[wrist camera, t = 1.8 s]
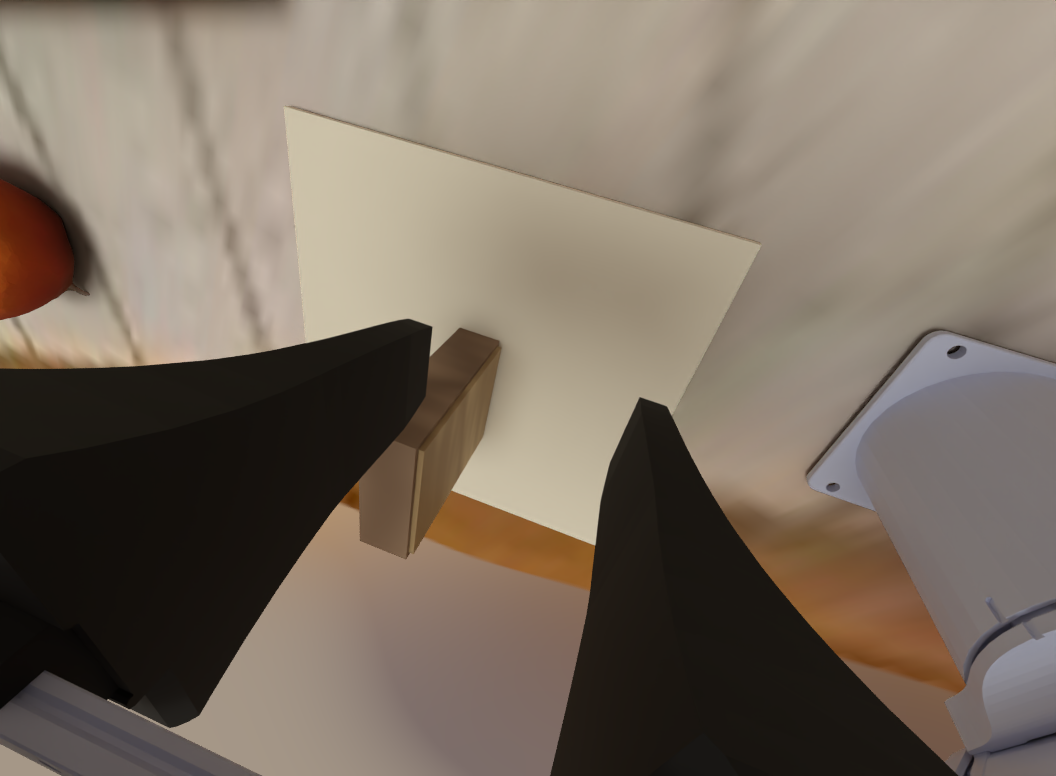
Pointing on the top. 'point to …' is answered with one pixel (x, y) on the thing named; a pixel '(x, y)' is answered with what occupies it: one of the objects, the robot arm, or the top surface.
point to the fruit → (31, 253)
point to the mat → (512, 298)
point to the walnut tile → (430, 446)
